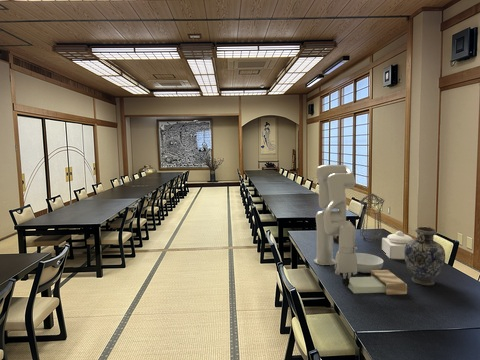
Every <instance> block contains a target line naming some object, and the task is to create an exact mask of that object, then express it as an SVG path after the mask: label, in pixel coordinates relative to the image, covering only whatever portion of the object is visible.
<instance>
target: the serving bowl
mask: <svg viewBox="0 0 480 360" xmlns="http://www.w3.org/2000/svg"><path fill="white" fill-rule="evenodd" d="M356 256H357V273H363V274H371V270H382V268H383V265H384V259H383V258H382V257H379V256H378V255H374V254H370V253H364V252H363V253H362V252H356Z"/></svg>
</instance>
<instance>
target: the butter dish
mask: <svg viewBox="0 0 480 360" xmlns="http://www.w3.org/2000/svg"><path fill="white" fill-rule="evenodd" d="M413 239H414V238H413V237H411V236H410V235H407V234H405V233H404V232H403V231H401V230H397V231H396V232H395V233H390V234H388V235H387V237H382V238H381V251H382V250H383V251H384V252H385V253H386V254H385V253H384V252H383V251H382V252H383V253H384V254H385V255H386V256H387V258H388V259H390V258H391V259H390V260H405V256H404V250H405V246H406V244H407V243H408V242H409V241H411V240H413Z"/></svg>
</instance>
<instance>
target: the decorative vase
mask: <svg viewBox="0 0 480 360" xmlns="http://www.w3.org/2000/svg"><path fill="white" fill-rule="evenodd" d="M415 233H417V238H412V239H413V240H411V241H409V242H408V243H407V244H406V246H405V250H404V256H405V259H404V260H405V265H406V269H407V271H408V272H409V273H410V274H411V275H412V277H411V281H412V283H415V284H417V285H422V286H433V285H435V280H434V279H435V278H436V277H437V276H439V275H440V273H441V272H442V270H443V268H444V265H445V262H446V250H445V248H444V247H443V245H442V244H440V243H439V242H437V241H435V240H434V239H435V238H434V236H435V235H438V233H437V231H436V230H435V229H434V228H432V227H430V226H427V227H425V226H422V227H421V226H420V227H419V226H418V228H417V229H415Z"/></svg>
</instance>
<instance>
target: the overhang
mask: <svg viewBox="0 0 480 360" xmlns="http://www.w3.org/2000/svg"><path fill="white" fill-rule="evenodd" d="M370 277H376V278H377V279H379V280H380V281H381V282H382V283H383V284H385V285H386V292H385V295H388V296H390V295H407V293H408V284H407V283H406V282H404V281H403V280H402V279H401V278H399V277H398V275H395V274H394V273H393V272H391V271H390V270H389V269H380V270H371V273H370Z"/></svg>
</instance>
